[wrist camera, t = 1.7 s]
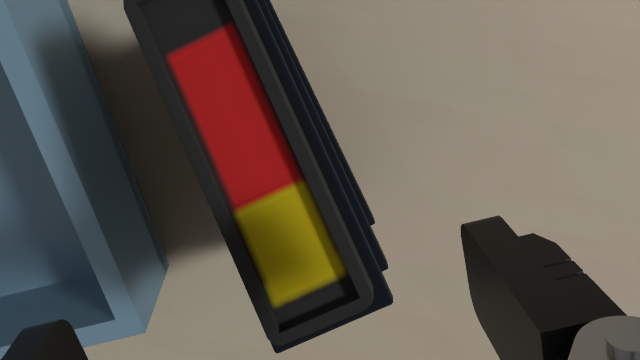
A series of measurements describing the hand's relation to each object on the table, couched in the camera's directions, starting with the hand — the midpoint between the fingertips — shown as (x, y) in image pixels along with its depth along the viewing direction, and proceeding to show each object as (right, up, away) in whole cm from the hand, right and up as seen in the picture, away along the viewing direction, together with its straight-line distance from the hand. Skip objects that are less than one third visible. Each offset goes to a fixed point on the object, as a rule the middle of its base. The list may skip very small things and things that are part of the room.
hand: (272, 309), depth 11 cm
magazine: (-1, +7, +17) cm, 18 cm away
